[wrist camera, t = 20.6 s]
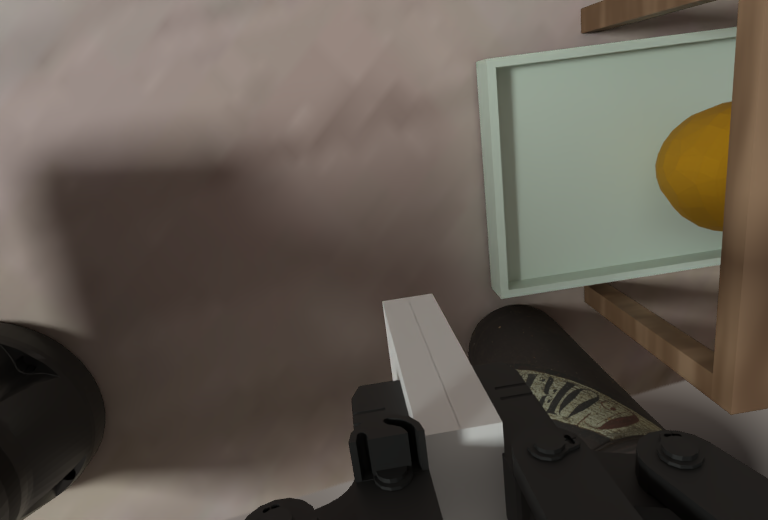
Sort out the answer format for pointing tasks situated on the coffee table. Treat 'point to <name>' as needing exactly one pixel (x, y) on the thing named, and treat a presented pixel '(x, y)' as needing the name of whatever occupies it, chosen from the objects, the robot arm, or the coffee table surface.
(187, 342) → the coffee table surface
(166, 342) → the coffee table surface
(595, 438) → the container
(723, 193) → the apple
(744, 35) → the riser
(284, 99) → the coffee table surface
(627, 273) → the tray
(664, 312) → the coffee table surface
